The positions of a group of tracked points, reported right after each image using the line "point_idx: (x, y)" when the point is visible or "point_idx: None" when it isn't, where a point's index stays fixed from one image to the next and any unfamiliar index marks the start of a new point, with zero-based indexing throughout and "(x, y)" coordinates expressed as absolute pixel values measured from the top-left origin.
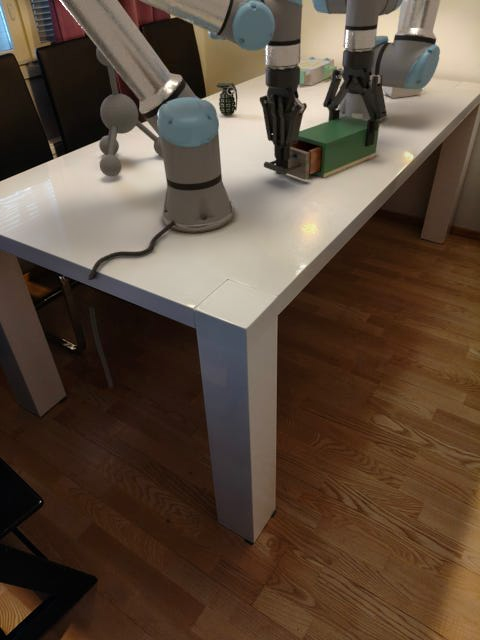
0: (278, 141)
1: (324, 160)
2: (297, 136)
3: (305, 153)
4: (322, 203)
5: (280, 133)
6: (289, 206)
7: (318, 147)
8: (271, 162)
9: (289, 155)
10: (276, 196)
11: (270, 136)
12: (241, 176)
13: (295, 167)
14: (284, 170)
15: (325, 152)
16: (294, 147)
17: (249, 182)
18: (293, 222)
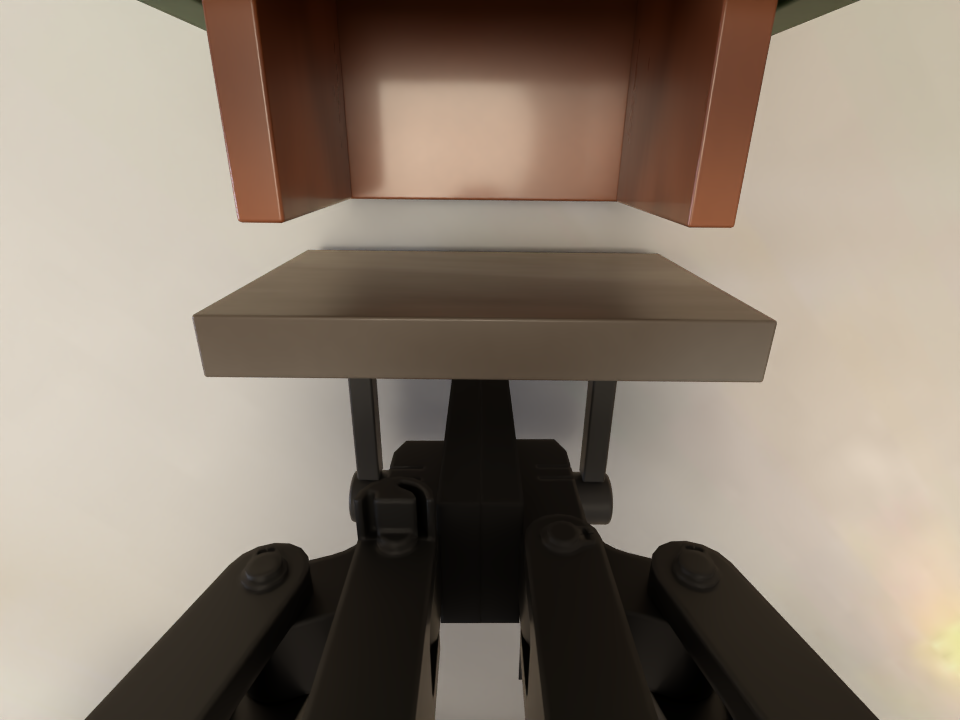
0: (434, 630)
1: (774, 31)
2: (813, 672)
3: (748, 380)
4: (912, 432)
5: (426, 714)
6: (756, 566)
7: (738, 4)
8: (372, 460)
9: (568, 467)
10: (612, 530)
11: (300, 717)
12: (205, 475)
13: (612, 388)
14: (608, 522)
15: (851, 1)
16: (294, 95)
17: (328, 502)
18: (871, 654)
